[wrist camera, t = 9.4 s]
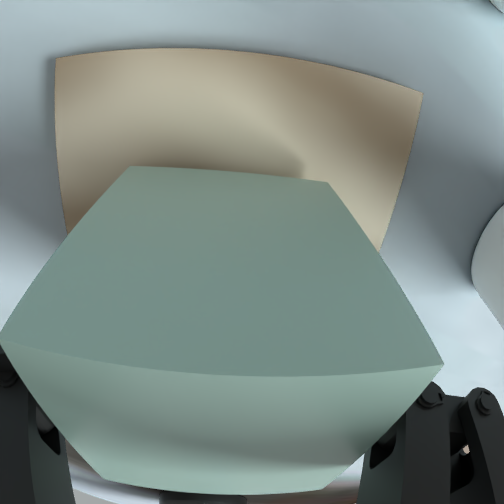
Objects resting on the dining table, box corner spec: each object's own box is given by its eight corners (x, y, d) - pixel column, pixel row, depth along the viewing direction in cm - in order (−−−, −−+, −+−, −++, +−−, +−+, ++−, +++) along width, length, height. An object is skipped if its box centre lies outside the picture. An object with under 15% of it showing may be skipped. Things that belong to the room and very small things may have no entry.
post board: (329, 348, 18) (358, 457, 12) (100, 333, 17) (65, 442, 11) (410, 90, 11) (552, 138, 4) (67, 57, 9) (-75, 79, 3)
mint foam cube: (291, 324, 15) (321, 489, 8) (142, 314, 14) (104, 479, 7) (327, 182, 11) (444, 364, 4) (130, 165, 10) (-4, 338, 3)
